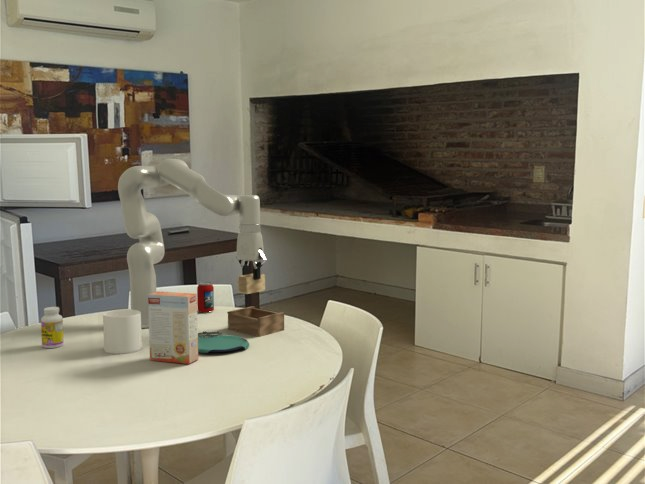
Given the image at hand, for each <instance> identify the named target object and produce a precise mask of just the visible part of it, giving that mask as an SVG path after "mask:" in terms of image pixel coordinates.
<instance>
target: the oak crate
mask: <svg viewBox="0 0 645 484" xmlns="http://www.w3.org/2000/svg"><path fill="white" fill-rule="evenodd" d="M264 291H266V274H264V273H261V278H260V279H257V280H254V279H253V273H250V274H248V275H238V276H237V292H238V294H245V295H248V294H254V293H260V292H264Z"/></svg>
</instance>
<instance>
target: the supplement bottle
mask: <svg viewBox="0 0 645 484" xmlns="http://www.w3.org/2000/svg"><path fill="white" fill-rule="evenodd" d="M43 313H44V315H43V316H42V317H41V319H40V327H41V329H40V330H41V347H43V349H57V348H60V347H62V346H63V345H64V318H63V316H62V315H61V314H59V313H60V307H59V306H50V307H49V306H48V307H45V308H43Z"/></svg>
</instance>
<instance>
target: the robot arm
mask: <svg viewBox="0 0 645 484" xmlns="http://www.w3.org/2000/svg"><path fill="white" fill-rule="evenodd" d="M169 185H171V186H173V187H175V188H177V189H178V190H180V191H181V192H184V194H187V195H189V196H190V197H191V198H192V199H193V200H195V201H196V202H197V203H198V204H199V205H201V206H202V207H204V208H205V209H206V210H209V211H210V212H212V213H214V214H215V215H218V216H220V217H229V216H236V215H238V217H239V220H238V221H239V227H238V228H239V232H238V233H237V239H236V256H235V258H236V260H237V261H238V263H239V264H240V267H241V272H242V275H248V274H251V272H250V271H251V270H250V268H251V267H250V266H249V264H250V262H252V264H253V267H254V268H252V274H253V279H254V280H257V279H260V278H261V274H262V272H261V269H262V267H263V265H264V263H266V262H267V258H266V256H265V253H264V252H265V251H264V242H263V234H262V233H261V231H262V230H261V203H260V202H261V201H260V197H259V195H256V194H247V195H246V194H244V195H239V194H238V195H237V194H223V193H222V192H220V191H218V190H217V189H214V188H213V187H212V186H211V185H209V184H208V183H207V181H206V180H205V177H204V176H203V175H201V174H200V173H198V172H196V171H195V170H193V169H191V168H189V166H188V164H187V163H186V162H185V161H184V160H182V159H179V158H165V159H163V160H162V161H160V163H158V164H154V165H135V166H131V167H129V168H127V169H126V170H124V171H123V172H122V174H121V175H120V176H119V179H118V184H117V191H118V197H119V200H120V205H121V212H122V218H123V222H124V223H123V224H124V229H125V233H126V234H127V236H129V237H130V238H131V239H136V240H137V239H138V240H139V241H138V242H136V243H134V244H132V245H131V246H130V247H129V248H128V250H127V253H126V261H127V265H128V272H129V290H130V309H131V310H138V311H140V312H141V329H149V309H148V294H151V293H154V292H157V275H156V270H155V267H154V265H156V264H158V263H160V262H161V261H162V260H163V258H164V257H165V252H166V251H165V244H164V238H163V233H162V227H161V223H160V221H159V219H158V217H157V216H156V215H155V214H153V213H152V212H148V211H147V207H146V202H145V199H144V196H143V194H142V190H143V189H144V190H147V189H156V188H160V187H164V186H169ZM242 275H241V276H242Z"/></svg>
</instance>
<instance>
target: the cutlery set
mask: <svg viewBox="0 0 645 484" xmlns="http://www.w3.org/2000/svg"><path fill="white" fill-rule="evenodd" d="M249 347H250V342H249V341H248V340H247V339H246V338H243V337H241V336H238V335H230V334H228V335H227V334H223V332H220V331H201V332H198V353H201V354H202V353H203V354H208V353H222V352H223V353H224V352H226V353H227V352H231V351H236V350H239V349H243V348H245V350H248V349H249Z"/></svg>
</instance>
